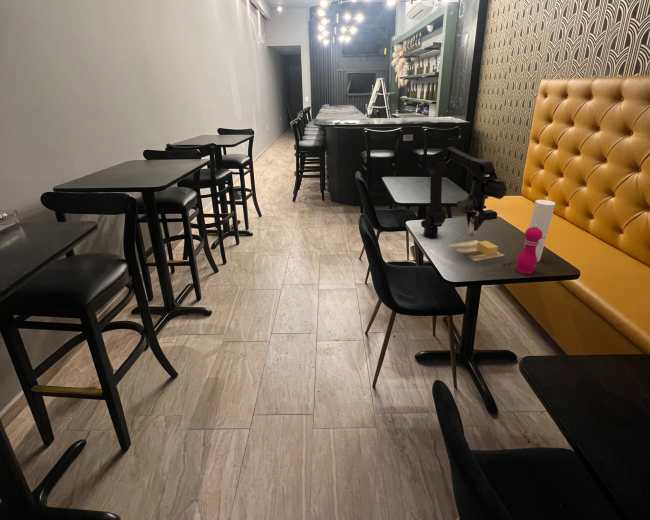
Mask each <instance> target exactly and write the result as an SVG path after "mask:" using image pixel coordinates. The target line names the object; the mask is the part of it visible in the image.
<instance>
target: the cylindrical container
mask: <svg viewBox="0 0 650 520" xmlns="http://www.w3.org/2000/svg"><path fill="white" fill-rule="evenodd" d="M555 206H556V203H555V202H554V201H552V200H548V199H537V200H535V202H534V206H533V211H532V213H531V217H530V222H529V227H528V228H531V227H533V225H534V224H537V225H538V229H540V230H541V231H542V238H541V239H540V240H539V244H538V245H537V247H536V257H537V263H538V262H540V261H541V258H542V254H543V252H544V251H543V250H544V247H545V244H546V239H547V235H548V233H549V229H550V226H551V221H552V218H553V213H554V210H555V208H556V207H555ZM523 246H524V247H525V245H523ZM524 247H523V248H524Z"/></svg>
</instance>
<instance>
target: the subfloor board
mask: <svg viewBox="0 0 650 520" xmlns="http://www.w3.org/2000/svg"><path fill="white" fill-rule="evenodd" d="M477 242H480V241H479V240H477V239H475V240H474V239H473V240H467V241H462V242H456V243H451V244H447V246H449V247H450V248H452V249H453V250H455V251H457V252H459V253H461V254H462V255H464V256H465V257H467V258H468V259H470V260H472V261H474V262H476V261H477V262H478V261H482V260H483V261H484V260H487V259H488V260H489V259H493V258H497V257H502V256H503V257H504V256H505V254H504V253H501V252H499V251H498V250H497V254H494V255H489V256H487V255H485V254H483V253H481V252H479V251H478V250H476V247H477Z"/></svg>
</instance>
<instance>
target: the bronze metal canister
mask: <svg viewBox="0 0 650 520" xmlns="http://www.w3.org/2000/svg"><path fill="white" fill-rule="evenodd" d="M474 224H475V218H474V217H473V216H470V222H469V228H468V230H467V236H469V237H476V236H477V231H474Z"/></svg>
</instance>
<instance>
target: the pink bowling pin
mask: <svg viewBox="0 0 650 520" xmlns="http://www.w3.org/2000/svg"><path fill="white" fill-rule="evenodd" d="M524 236H525V238H524V246H525V247H523V248H522V251H520V253H519V254H518V256H517V258H516V263H517V264H516V267H515V270H516V272H518V273H520V274H522V275H523V274H524V275H531V274H533V273H534V267H536V265H537V264H538V262H537V257H536V247H537V245H538V244H539V240H540V239H541V238H542V231H541V230H540V229H538V225H537V224H534V225H533V227H531V228H529V227H528V228H527V229H526V230H525V232H524Z"/></svg>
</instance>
